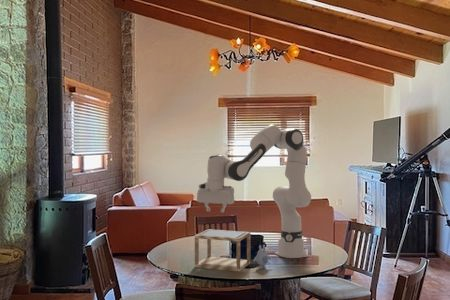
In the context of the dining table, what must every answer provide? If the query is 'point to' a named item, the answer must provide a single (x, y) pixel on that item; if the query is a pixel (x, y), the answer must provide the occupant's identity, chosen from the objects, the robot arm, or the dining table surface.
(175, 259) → the dining table surface
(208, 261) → the frame
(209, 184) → the robot arm
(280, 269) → the dining table surface
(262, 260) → the toy figure
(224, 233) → the trapdoor
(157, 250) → the dining table surface
